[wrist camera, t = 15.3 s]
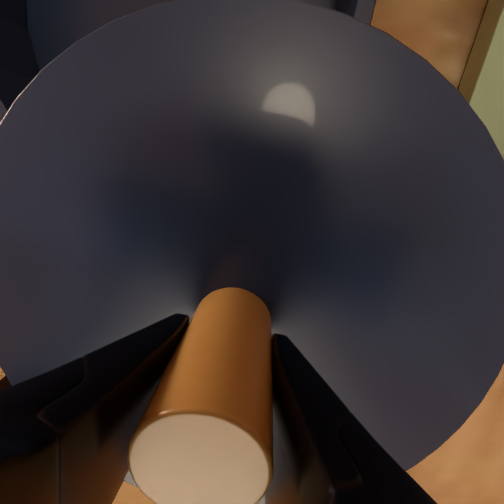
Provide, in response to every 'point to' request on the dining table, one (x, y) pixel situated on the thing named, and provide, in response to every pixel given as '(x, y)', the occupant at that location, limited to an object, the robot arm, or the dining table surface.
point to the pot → (79, 32)
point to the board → (488, 73)
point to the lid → (254, 230)
